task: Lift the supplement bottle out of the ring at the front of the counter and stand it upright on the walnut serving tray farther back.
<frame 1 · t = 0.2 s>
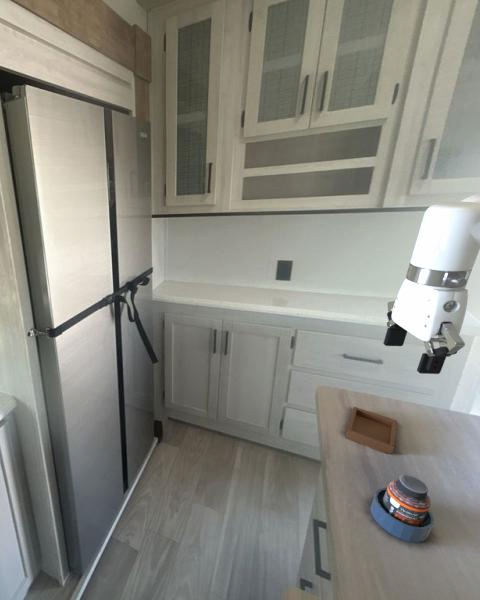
hand: (409, 358, 64), 32 cm above the countertop, tool pointing down, fingers open, 9 cm apart
tray: (370, 432, 88), on the countertop
supplement bottle: (396, 523, 66), resting on ring
ring: (396, 524, 67), on the countertop
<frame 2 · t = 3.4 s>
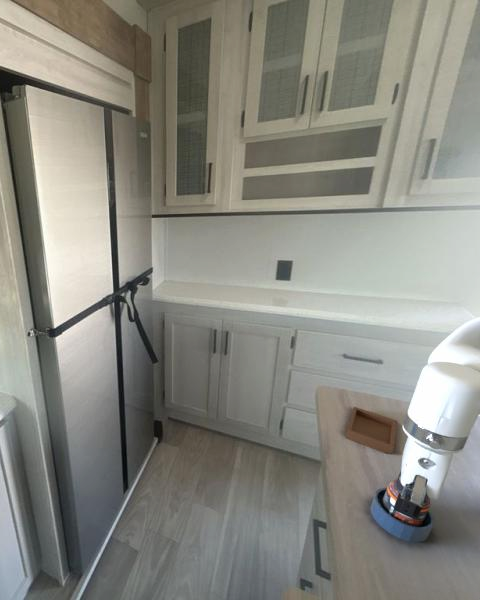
hand: (406, 500, 64), 7 cm above the countertop, tool pointing down, fingers closed on supplement bottle, 6 cm apart
supplement bottle: (396, 523, 66), resting on ring, touching gripper
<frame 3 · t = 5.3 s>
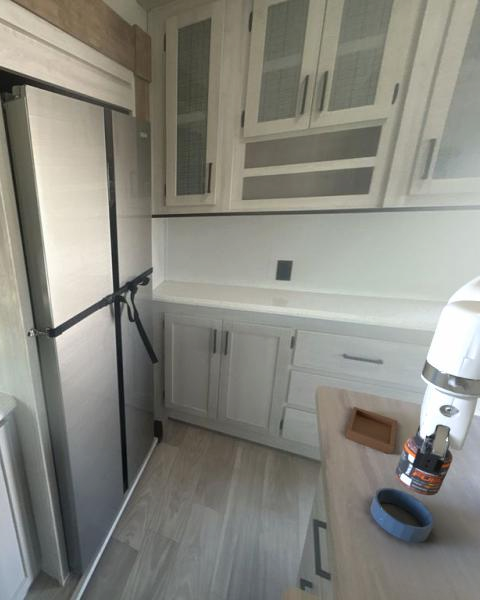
hand: (425, 457, 60), 18 cm above the countertop, tool pointing down, fingers closed on supplement bottle, 6 cm apart
supplement bottle: (415, 483, 62), point 11 cm above the countertop, touching gripper
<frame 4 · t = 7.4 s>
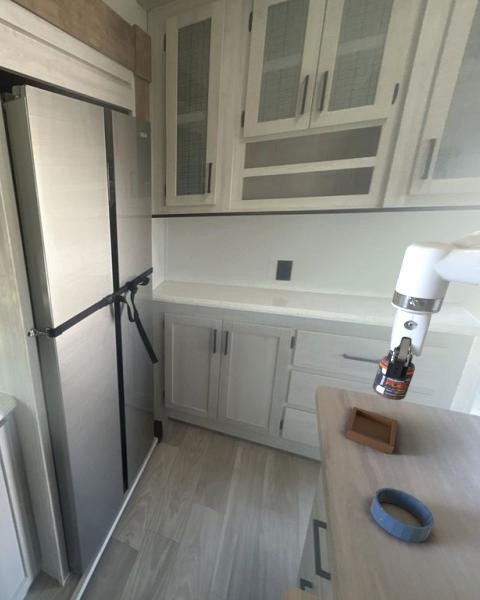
hand: (395, 370, 77), 22 cm above the countertop, tool pointing down, fingers closed on supplement bottle, 6 cm apart
supplement bottle: (388, 393, 79), point 15 cm above the countertop, touching gripper
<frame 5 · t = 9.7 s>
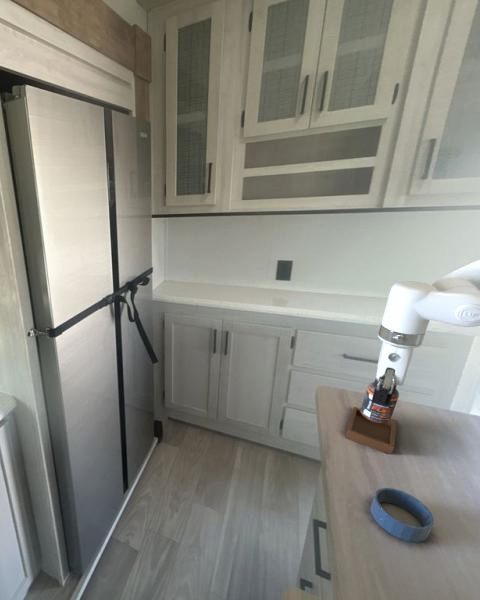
hand: (381, 396, 83), 12 cm above the countertop, tool pointing down, fingers closed on supplement bottle, 6 cm apart
supplement bottle: (374, 417, 86), point 5 cm above the countertop, touching gripper
when the fingers open (7 cm above the countertop, at t = 11.4 s): supplement bottle stays where it is, resting on tray.
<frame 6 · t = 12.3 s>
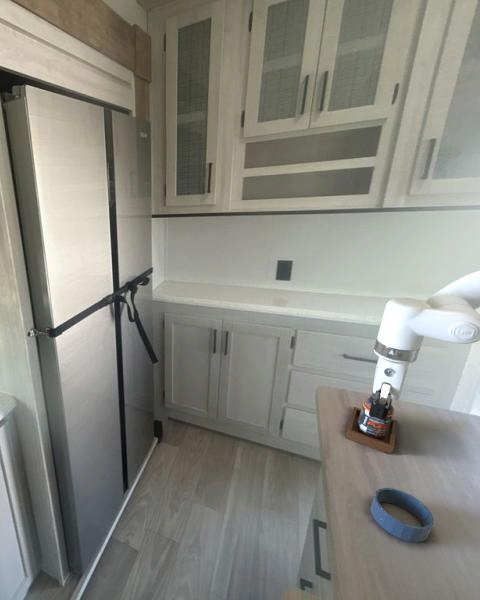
hand: (378, 406, 84), 9 cm above the countertop, tool pointing down, fingers open, 9 cm apart
supplement bottle: (370, 431, 88), resting on tray
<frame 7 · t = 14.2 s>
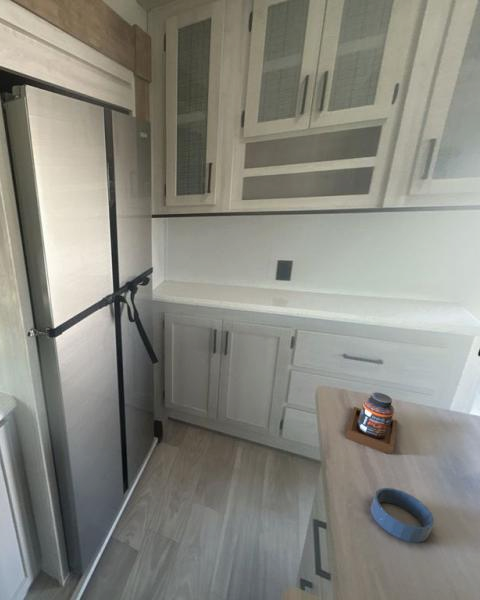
nothing on the countertop moved.
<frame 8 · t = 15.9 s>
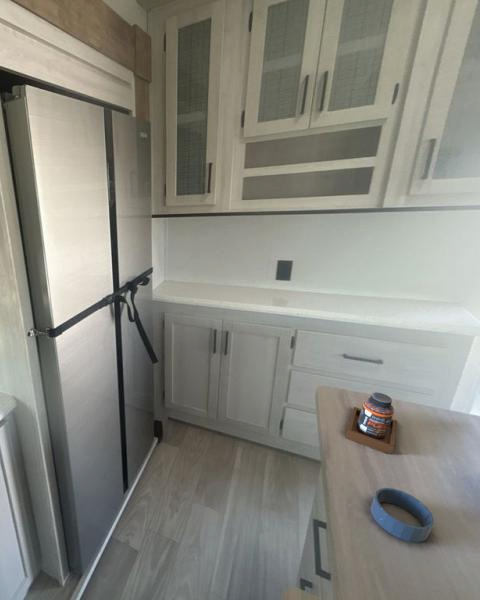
nothing on the countertop moved.
at the end: supplement bottle 0.0 cm off-centre in the tray, point 0.3 cm above the tray's base; supplement bottle tilted 0°; the gripper is holding nothing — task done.
